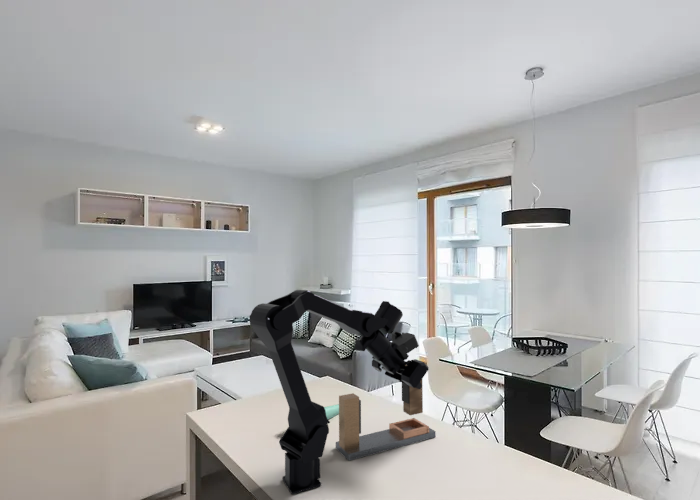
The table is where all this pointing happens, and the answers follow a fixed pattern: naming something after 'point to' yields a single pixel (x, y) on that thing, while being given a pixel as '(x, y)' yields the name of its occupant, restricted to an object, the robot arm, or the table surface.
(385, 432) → the rail
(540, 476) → the table surface
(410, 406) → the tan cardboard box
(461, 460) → the table surface
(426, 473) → the table surface
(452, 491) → the table surface
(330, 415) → the mint green cone
